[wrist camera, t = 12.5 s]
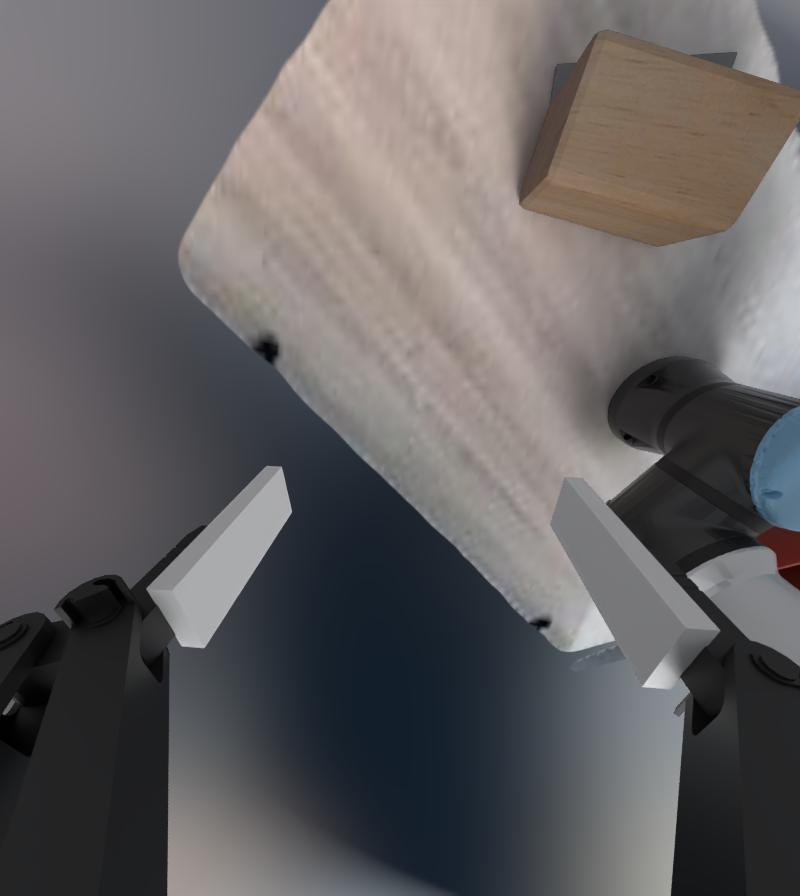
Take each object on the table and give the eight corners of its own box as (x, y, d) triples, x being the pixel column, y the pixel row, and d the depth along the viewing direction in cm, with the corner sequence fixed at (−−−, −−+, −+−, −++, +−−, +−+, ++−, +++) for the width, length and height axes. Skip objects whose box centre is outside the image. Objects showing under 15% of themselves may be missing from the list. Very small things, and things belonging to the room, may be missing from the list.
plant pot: (786, 460, 49) (945, 528, 34) (788, 533, 56) (920, 617, 41) (663, 500, 55) (753, 575, 40) (678, 563, 62) (759, 646, 47)
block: (600, 17, 23) (826, 88, 24) (550, 97, 32) (715, 147, 32) (543, 178, 27) (733, 233, 28) (514, 208, 36) (659, 249, 37)
